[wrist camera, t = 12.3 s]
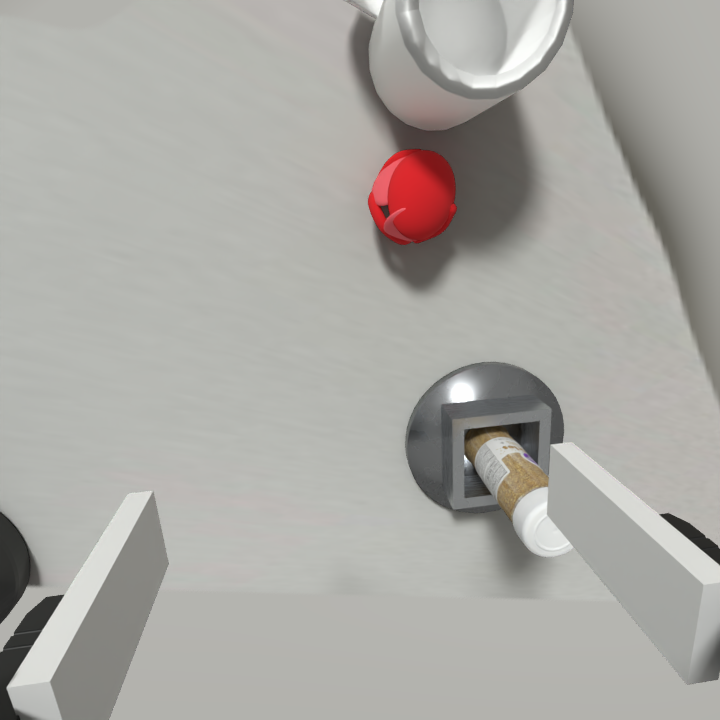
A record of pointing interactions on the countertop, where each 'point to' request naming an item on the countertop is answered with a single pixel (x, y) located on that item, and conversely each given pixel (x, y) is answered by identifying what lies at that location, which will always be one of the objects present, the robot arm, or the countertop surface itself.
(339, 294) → the countertop surface
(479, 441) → the sprinkles bottle
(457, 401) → the square hole disc
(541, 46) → the mug
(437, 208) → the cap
